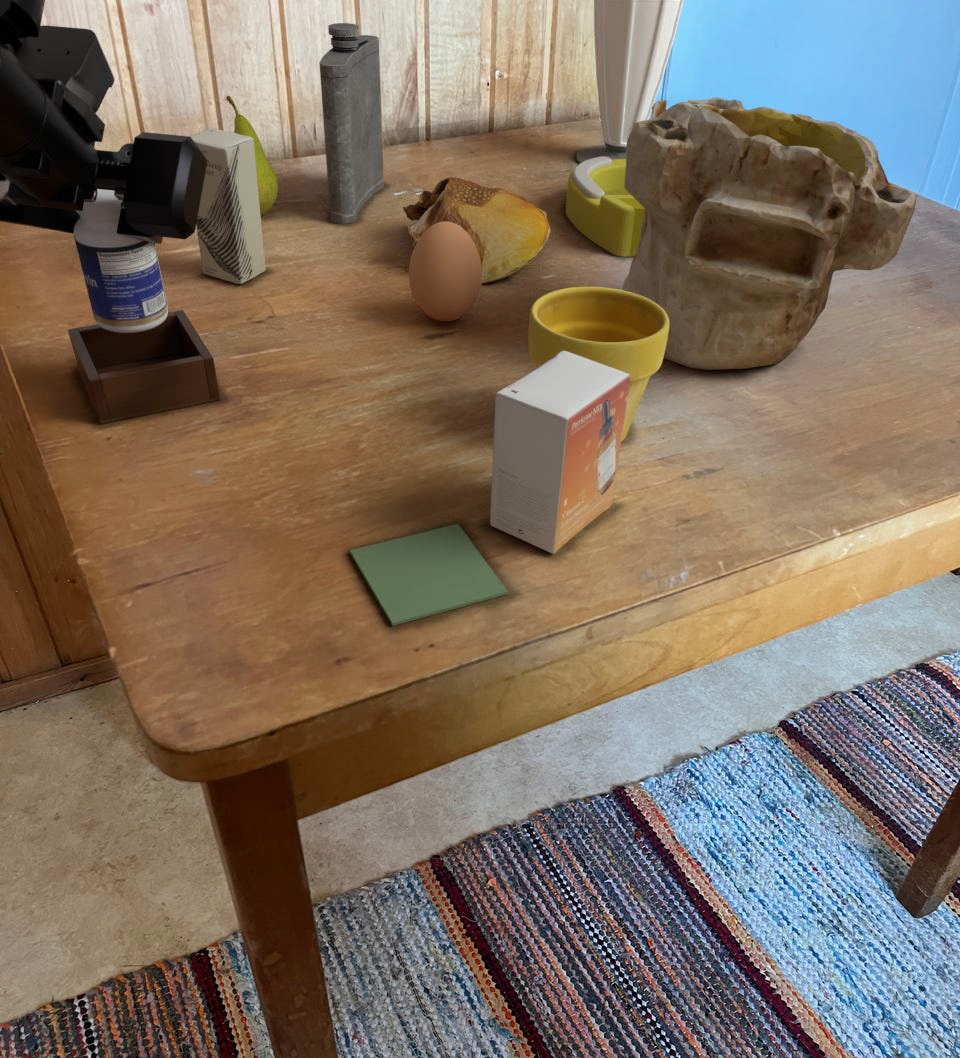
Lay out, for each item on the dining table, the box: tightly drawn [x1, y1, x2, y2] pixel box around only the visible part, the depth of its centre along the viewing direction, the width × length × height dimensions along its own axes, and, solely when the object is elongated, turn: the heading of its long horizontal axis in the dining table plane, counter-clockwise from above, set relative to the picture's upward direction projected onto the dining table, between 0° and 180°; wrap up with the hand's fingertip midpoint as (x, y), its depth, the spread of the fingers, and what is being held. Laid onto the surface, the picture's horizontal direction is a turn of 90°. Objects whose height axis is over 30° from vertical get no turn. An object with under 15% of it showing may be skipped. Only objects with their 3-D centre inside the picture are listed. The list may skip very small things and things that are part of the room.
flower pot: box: [527, 286, 670, 443], centre depth 76 cm, size 10×10×10 cm
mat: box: [349, 523, 508, 627], centre depth 65 cm, size 8×8×1 cm
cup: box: [576, 0, 685, 164], centre depth 122 cm, size 12×12×22 cm
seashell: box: [402, 176, 551, 284], centre depth 104 cm, size 17×8×15 cm
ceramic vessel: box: [621, 96, 917, 371], centre depth 84 cm, size 23×24×25 cm
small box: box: [489, 351, 631, 555], centre depth 67 cm, size 8×6×10 cm
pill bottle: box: [73, 189, 169, 333], centre depth 75 cm, size 6×6×10 cm
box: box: [189, 127, 267, 285], centre depth 95 cm, size 5×4×13 cm
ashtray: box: [565, 156, 644, 257], centre depth 112 cm, size 16×21×5 cm
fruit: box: [225, 95, 279, 217], centre depth 107 cm, size 6×6×12 cm
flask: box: [319, 22, 385, 225], centre depth 109 cm, size 4×14×18 cm, turn 168°
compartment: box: [67, 309, 221, 425], centre depth 81 cm, size 10×10×4 cm
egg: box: [408, 221, 483, 322], centre depth 90 cm, size 7×7×9 cm
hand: (124, 233), depth 75 cm, fingers closed on pill bottle, 6 cm apart
